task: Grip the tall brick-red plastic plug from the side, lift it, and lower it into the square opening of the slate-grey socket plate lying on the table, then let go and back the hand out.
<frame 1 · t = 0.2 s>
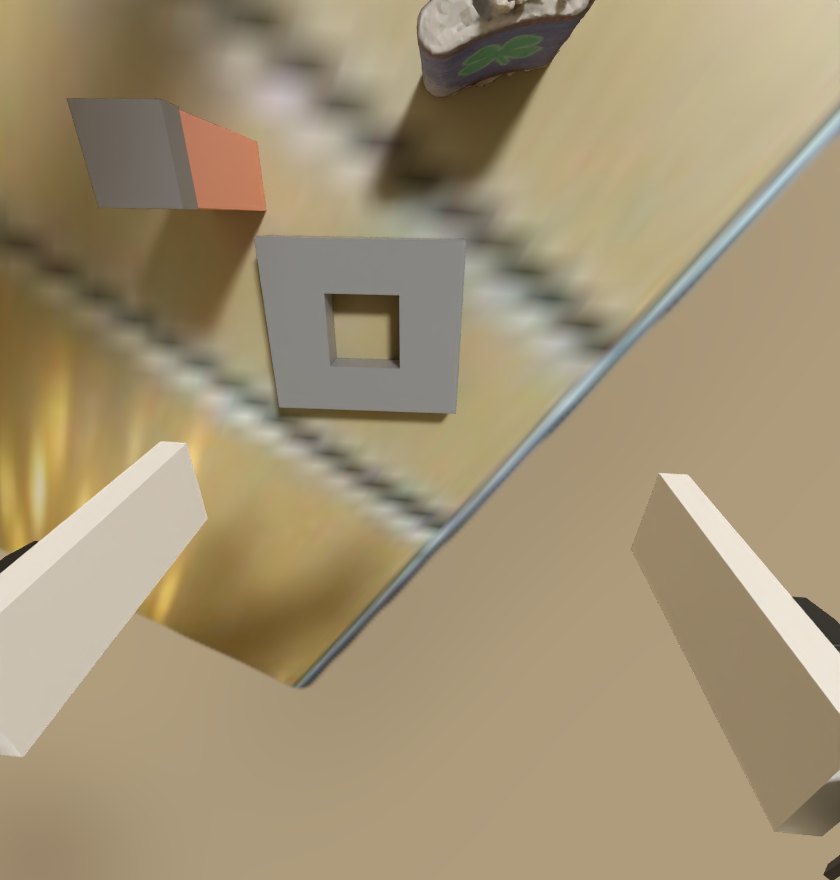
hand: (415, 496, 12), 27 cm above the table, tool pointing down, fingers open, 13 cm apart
plug: (232, 177, 33), on the table
flask: (489, 60, 29), on the table
socket plate: (368, 325, 37), on the table
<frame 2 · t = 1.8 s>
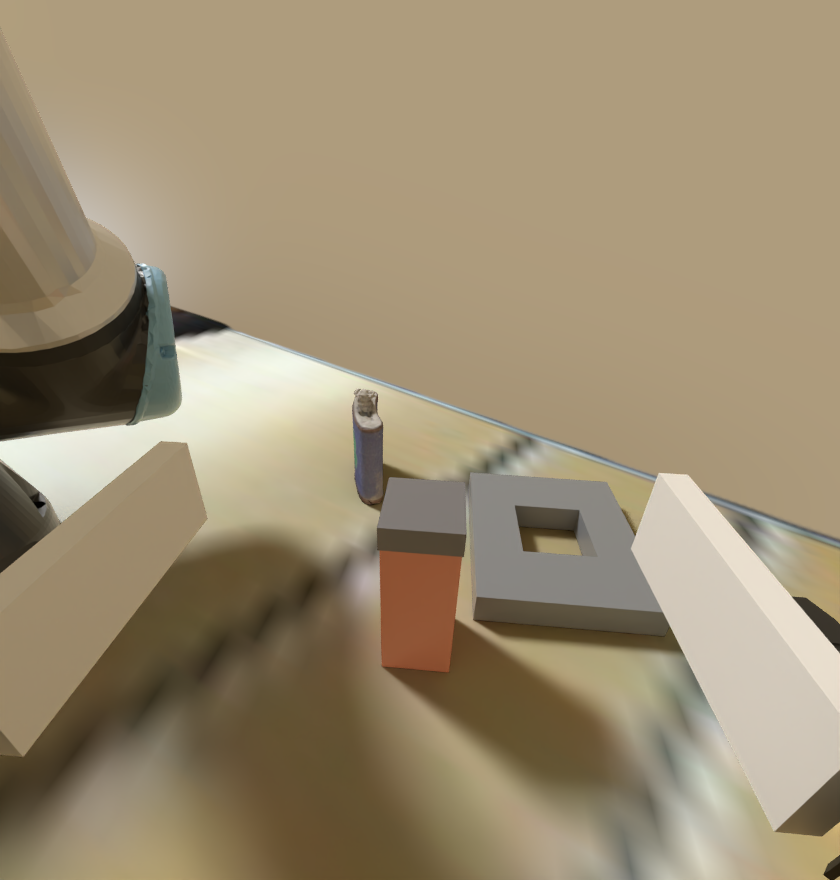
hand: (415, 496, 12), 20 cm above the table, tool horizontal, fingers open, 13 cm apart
plug: (417, 639, 30), on the table
flask: (368, 481, 47), on the table
socket plate: (547, 550, 39), on the table
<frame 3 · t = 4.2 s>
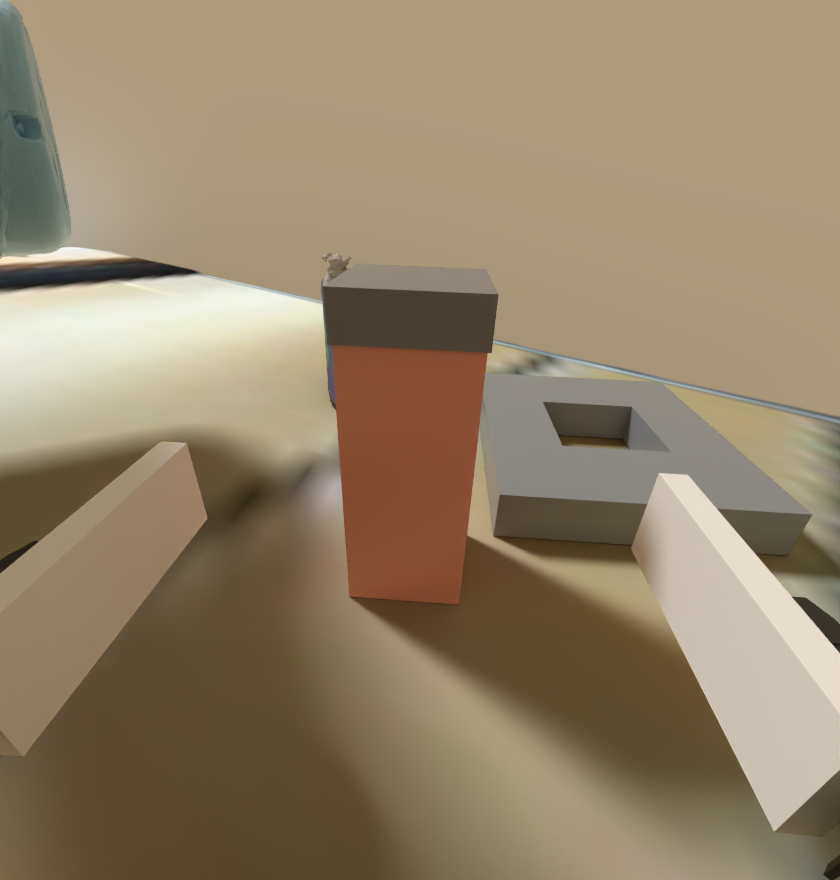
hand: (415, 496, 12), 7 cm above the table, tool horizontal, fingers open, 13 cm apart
plug: (408, 560, 19), on the table
flask: (346, 392, 36), on the table
socket plate: (591, 458, 28), on the table
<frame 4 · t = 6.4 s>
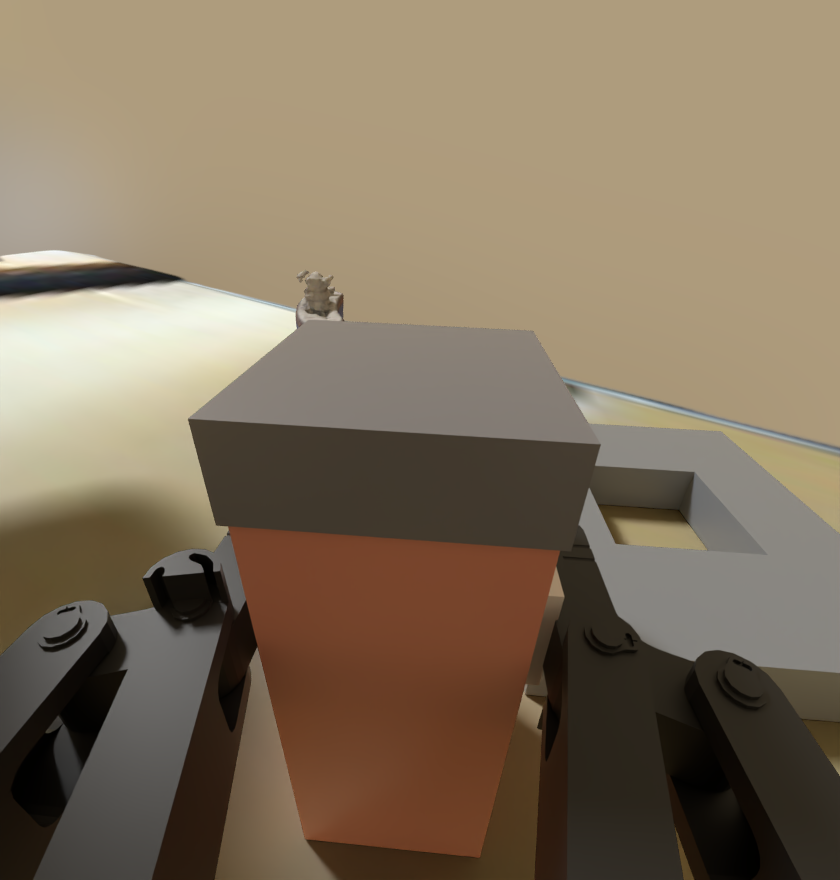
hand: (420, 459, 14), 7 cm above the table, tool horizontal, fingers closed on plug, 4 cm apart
plug: (401, 749, 13), on the table, touching gripper
flask: (330, 437, 30), on the table
socket plate: (644, 543, 21), on the table
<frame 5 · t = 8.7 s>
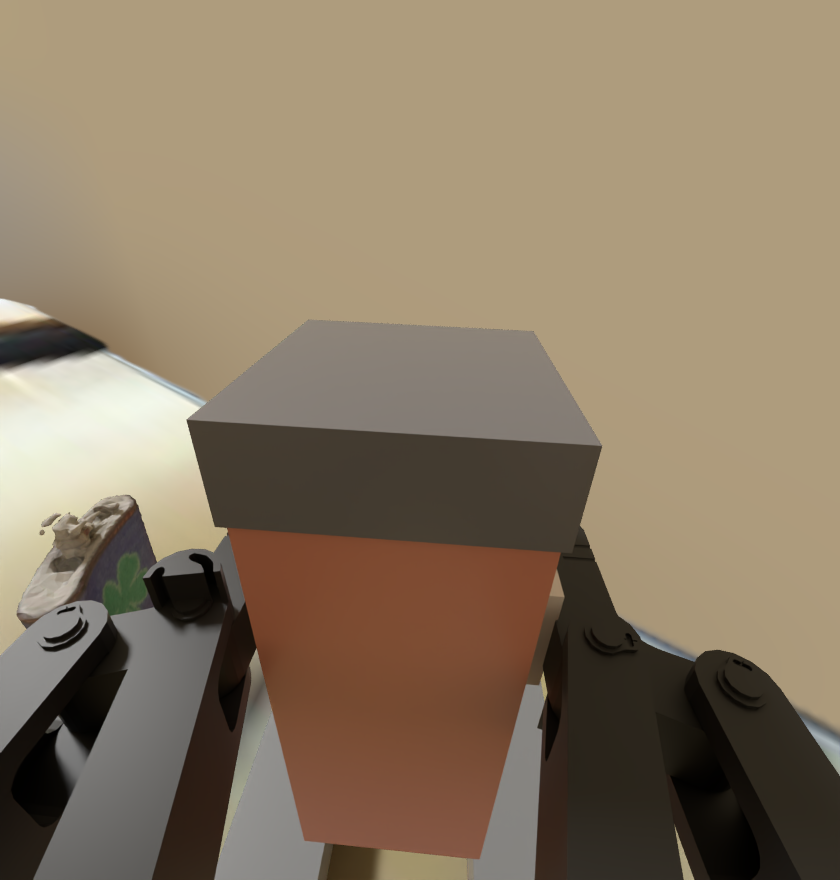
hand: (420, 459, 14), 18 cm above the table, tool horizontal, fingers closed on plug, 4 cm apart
plug: (400, 751, 13), point 11 cm above the table, touching gripper
flask: (131, 651, 27), on the table
socket plate: (397, 875, 18), on the table
when the fingers open (8 cm above the table, at t = 11.0 s): plug drops 1 cm, resting in socket plate.
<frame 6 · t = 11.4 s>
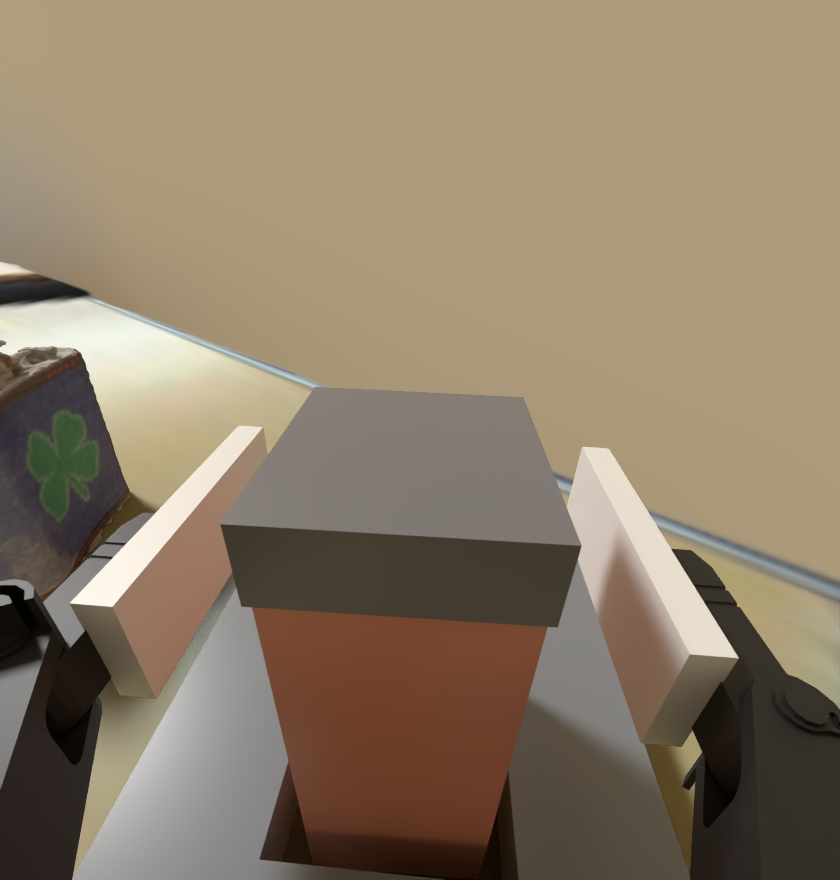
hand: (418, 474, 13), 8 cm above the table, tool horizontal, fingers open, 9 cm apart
plug: (402, 775, 14), resting in socket plate
flask: (77, 542, 22), on the table
socket plate: (400, 773, 14), on the table
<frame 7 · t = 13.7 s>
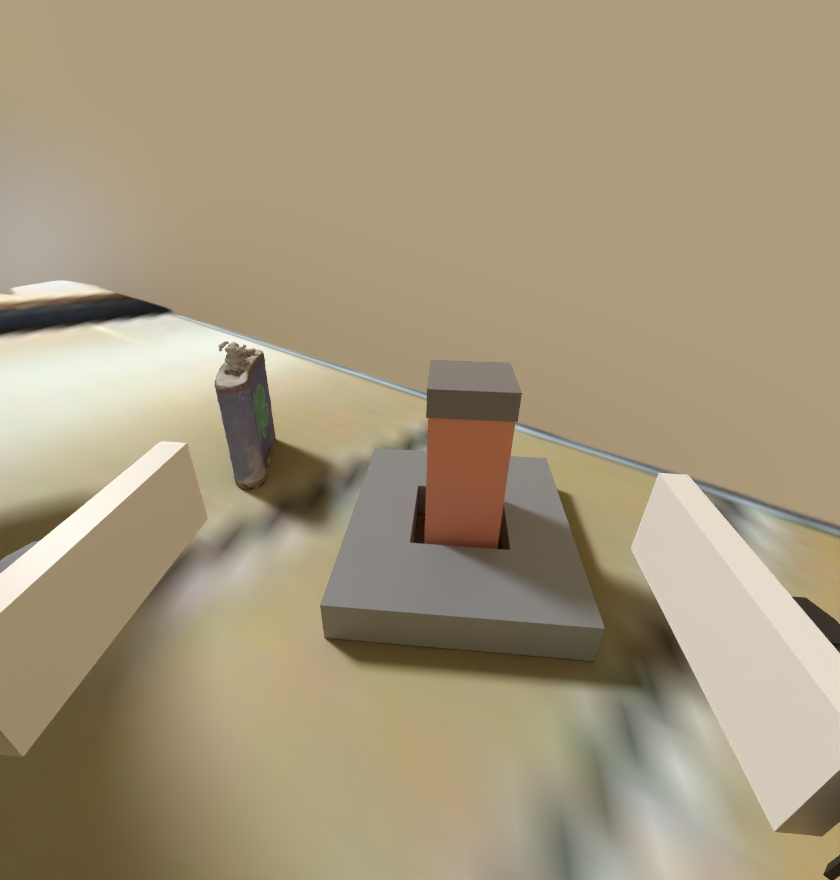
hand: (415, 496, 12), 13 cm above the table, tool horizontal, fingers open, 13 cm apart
plug: (458, 544, 29), resting in socket plate
flask: (256, 462, 38), on the table
socket plate: (457, 543, 29), on the table
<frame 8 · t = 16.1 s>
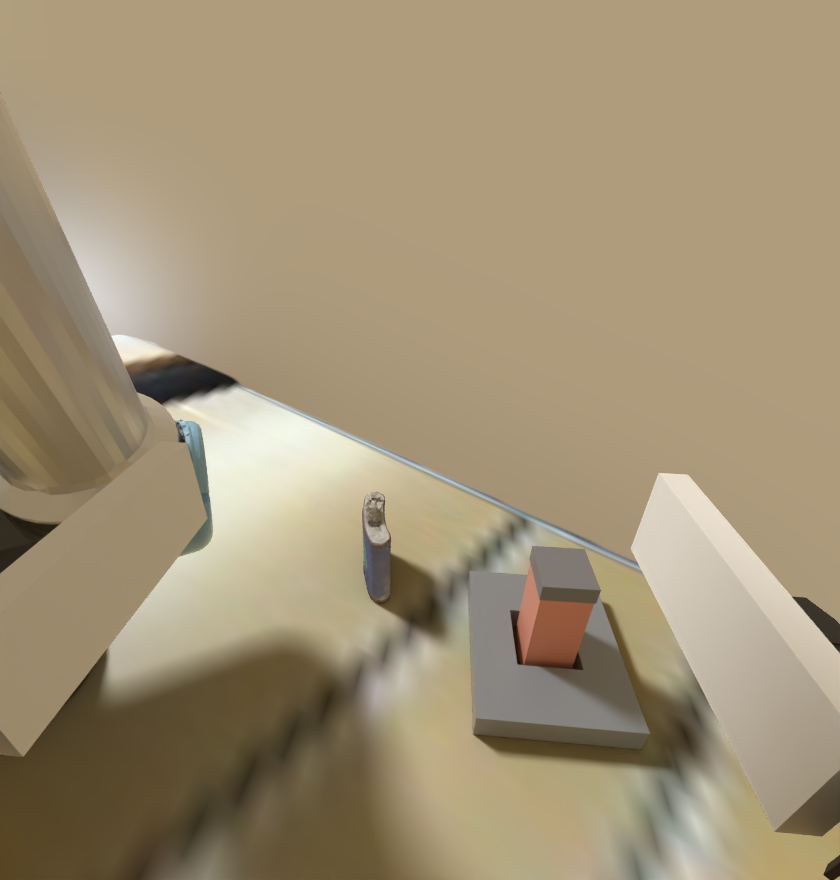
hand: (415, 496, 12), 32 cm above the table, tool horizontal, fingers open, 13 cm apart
plug: (540, 654, 43), resting in socket plate
flask: (376, 574, 52), on the table
socket plate: (539, 654, 43), on the table
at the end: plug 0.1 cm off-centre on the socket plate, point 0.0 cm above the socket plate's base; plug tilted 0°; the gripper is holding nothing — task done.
